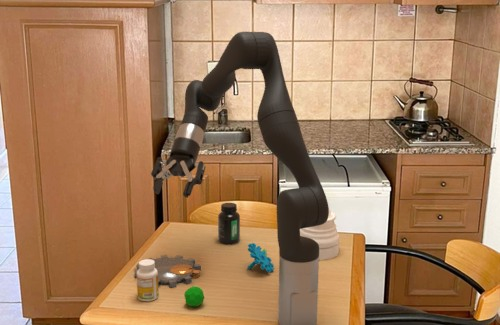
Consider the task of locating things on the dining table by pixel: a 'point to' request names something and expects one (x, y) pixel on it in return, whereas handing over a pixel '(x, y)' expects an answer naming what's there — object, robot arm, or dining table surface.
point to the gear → (260, 258)
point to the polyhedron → (194, 296)
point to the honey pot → (324, 237)
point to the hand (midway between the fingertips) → (170, 194)
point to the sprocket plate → (175, 270)
